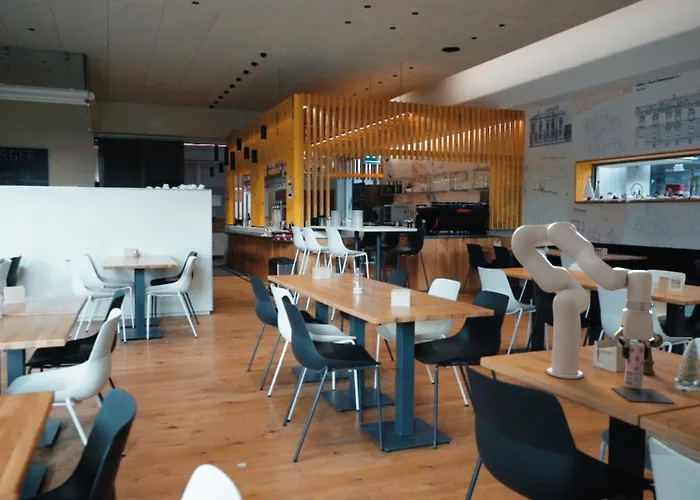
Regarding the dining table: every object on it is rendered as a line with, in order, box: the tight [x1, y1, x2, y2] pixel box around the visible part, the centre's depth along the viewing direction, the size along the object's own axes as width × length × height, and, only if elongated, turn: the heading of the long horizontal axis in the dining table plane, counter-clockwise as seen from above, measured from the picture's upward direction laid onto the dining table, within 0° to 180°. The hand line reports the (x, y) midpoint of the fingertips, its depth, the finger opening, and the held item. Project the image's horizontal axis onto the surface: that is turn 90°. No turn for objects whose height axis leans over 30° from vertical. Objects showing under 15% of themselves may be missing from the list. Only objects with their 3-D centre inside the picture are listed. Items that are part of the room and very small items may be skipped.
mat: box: [611, 387, 675, 404], centre depth 197 cm, size 14×14×1 cm
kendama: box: [636, 332, 664, 376], centre depth 224 cm, size 6×10×20 cm, turn 2°
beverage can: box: [623, 341, 645, 389], centre depth 205 cm, size 6×6×15 cm
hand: (634, 357), depth 205 cm, fingers closed on beverage can, 5 cm apart
